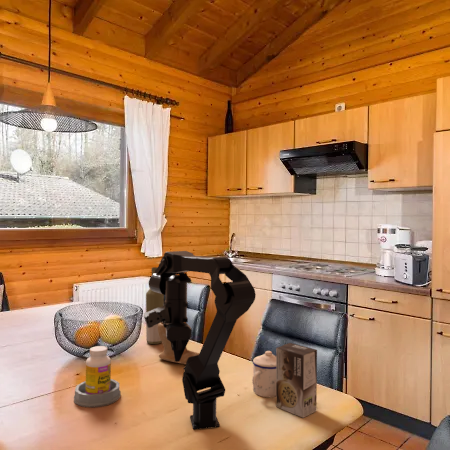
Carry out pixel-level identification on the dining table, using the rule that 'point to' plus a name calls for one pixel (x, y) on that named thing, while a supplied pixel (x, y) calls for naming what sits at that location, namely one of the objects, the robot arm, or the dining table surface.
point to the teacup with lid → (264, 375)
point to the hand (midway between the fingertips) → (175, 355)
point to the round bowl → (96, 396)
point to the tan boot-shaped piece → (168, 351)
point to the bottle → (152, 303)
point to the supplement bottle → (98, 371)
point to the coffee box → (296, 379)
